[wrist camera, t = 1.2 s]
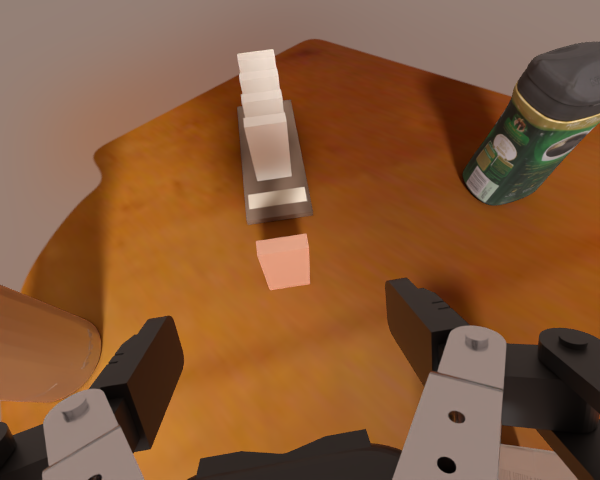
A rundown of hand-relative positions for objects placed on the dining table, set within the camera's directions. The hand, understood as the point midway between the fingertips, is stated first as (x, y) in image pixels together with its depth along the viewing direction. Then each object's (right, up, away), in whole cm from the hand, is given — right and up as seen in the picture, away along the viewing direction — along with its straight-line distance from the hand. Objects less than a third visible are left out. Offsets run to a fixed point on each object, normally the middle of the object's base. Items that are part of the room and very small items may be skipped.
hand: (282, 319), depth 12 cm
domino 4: (-3, +12, +35) cm, 37 cm away
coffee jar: (+28, +11, +34) cm, 46 cm away
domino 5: (-1, -2, +28) cm, 28 cm away
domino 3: (-4, +16, +37) cm, 40 cm away
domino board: (-4, +16, +38) cm, 41 cm away
